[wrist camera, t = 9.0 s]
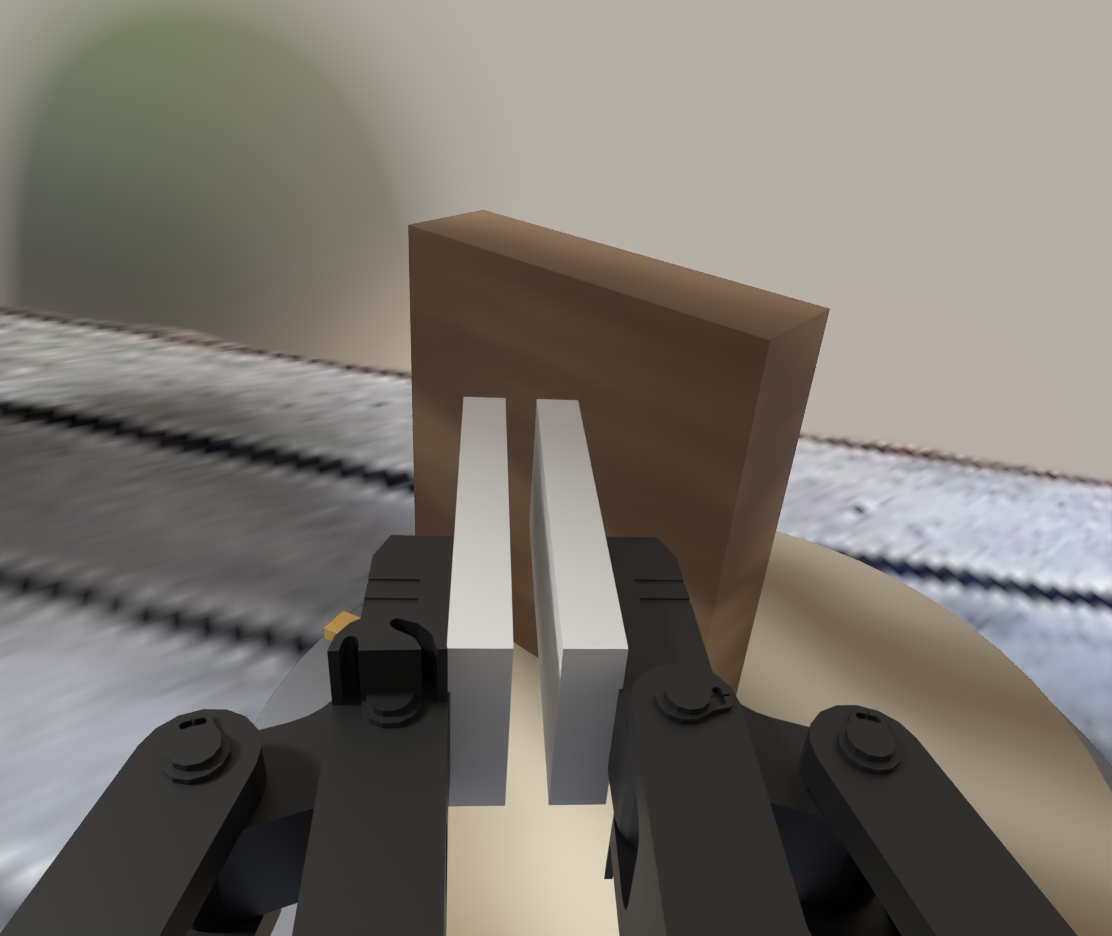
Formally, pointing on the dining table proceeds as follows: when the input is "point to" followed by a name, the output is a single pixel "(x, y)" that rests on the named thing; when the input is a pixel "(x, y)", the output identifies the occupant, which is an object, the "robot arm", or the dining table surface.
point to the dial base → (312, 692)
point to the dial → (704, 556)
